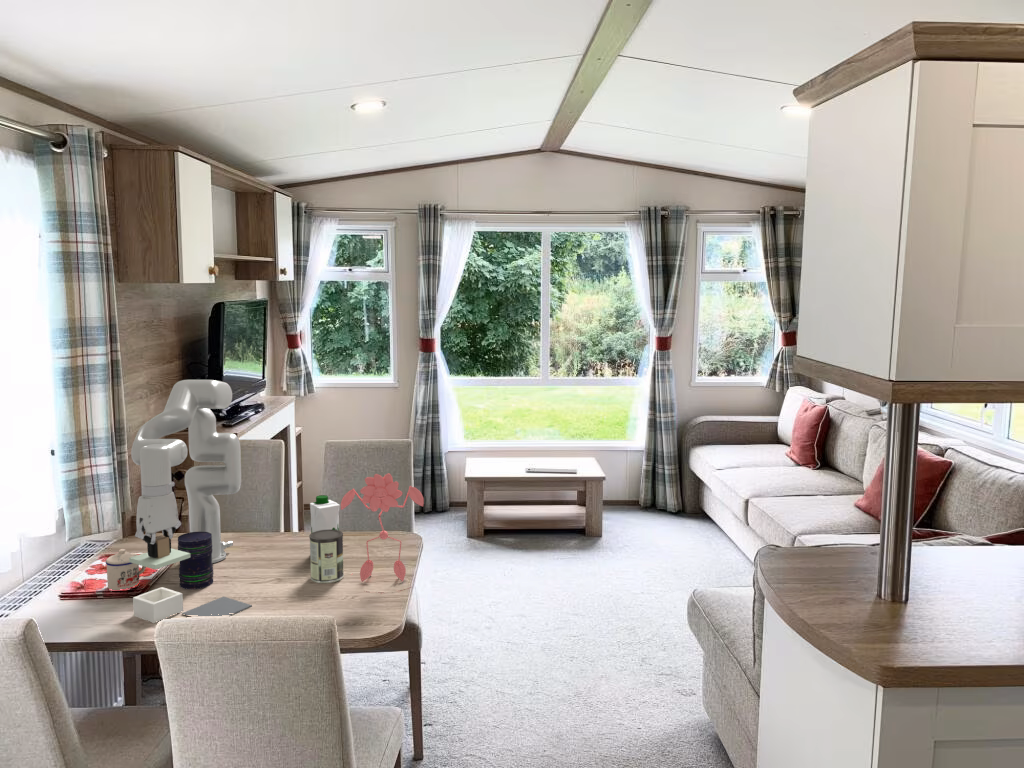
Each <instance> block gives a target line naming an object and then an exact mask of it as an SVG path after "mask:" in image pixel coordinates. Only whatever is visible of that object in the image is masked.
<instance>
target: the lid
mask: <svg viewBox="0 0 1024 768" xmlns="http://www.w3.org/2000/svg"><path fill="white" fill-rule="evenodd" d="M155 543H157V554H158V557H157V558H153V557H150V556H148V551H147V552H144V553H140V554H137V556H134V557H131V558H129V562H131V563H134V564H138V565H139V566H141V567H142V566H144V567H146V568H147V569H151V570H159V569H162V568H165V567H166V566H171V565H172V564H176V563H180V561H182V560H185V559H188V558H190V553H187V552H183V551H180V550H178V549H175V548H172V547H171V553H170V549H169V537H165V536H163V535H156V538H155Z"/></svg>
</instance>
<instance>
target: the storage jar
mask: <svg viewBox="0 0 1024 768" xmlns="http://www.w3.org/2000/svg"><path fill="white" fill-rule="evenodd" d="M211 538H212V534H211V533H209V532H190V531H189V532H186V533H183V534H180V535H178V537H177V550H180V551H183V552H187V553H190V558H188V559H185V560H182V561H179V568H178V579H179V588H180V589H182V590H190V591H191V590H201V589H204V588H208V587H210V586H212V585H213V584H214V565H213V564H214V563H212V550H213V549H212V539H211Z"/></svg>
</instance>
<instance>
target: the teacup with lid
mask: <svg viewBox="0 0 1024 768" xmlns="http://www.w3.org/2000/svg"><path fill="white" fill-rule="evenodd" d="M137 555H138V554H137V553H133V552H129V551H127V549H125V548H121V549H118V552H117V553H115V554H113V555H110V556H109V557H107V558H106V560H105V565H106V576H107V577H106V578H107V579H106V580H107V589H108V588H109V589H112V590H120V589H126V588H130V587H133V586H135V585H137V584H138V583H139V581H140V575H141V574H143V573H144V572H145V571H146V569H147V567H144V566H141V568H140V567H139V566H140V565H138V564H134V563H131V562H129V558H131V557H134V556H137Z"/></svg>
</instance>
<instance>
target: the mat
mask: <svg viewBox="0 0 1024 768" xmlns="http://www.w3.org/2000/svg"><path fill="white" fill-rule="evenodd" d="M252 607H253V605H252V604H250V603H246V602H243V601H239V600H236V599H233V598H230V597H227V596H222V597H219V598H216V599H214V600H210V601H208V602H206V603H204V604H201V605H199V606H195V607H194V608H191V609H189V610H186V611H183V612H181V615H182V614H185V615H198V616H222V615H231V616H233V615H232V614H229V613H236V614H238V613H240V611H241V612H243V611H245V610H247V609H250V608H252ZM211 614H212V615H211ZM218 614H219V615H218ZM185 615H184V616H185Z"/></svg>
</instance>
